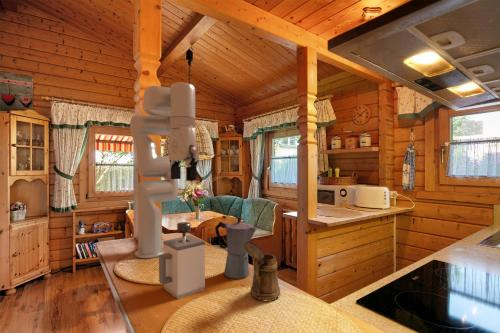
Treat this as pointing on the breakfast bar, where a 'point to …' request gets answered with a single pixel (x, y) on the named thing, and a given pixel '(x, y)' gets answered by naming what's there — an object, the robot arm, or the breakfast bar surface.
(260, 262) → the wooden mug
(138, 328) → the breakfast bar surface
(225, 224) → the moka pot
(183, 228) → the plunger
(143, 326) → the breakfast bar surface
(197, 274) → the carafe
